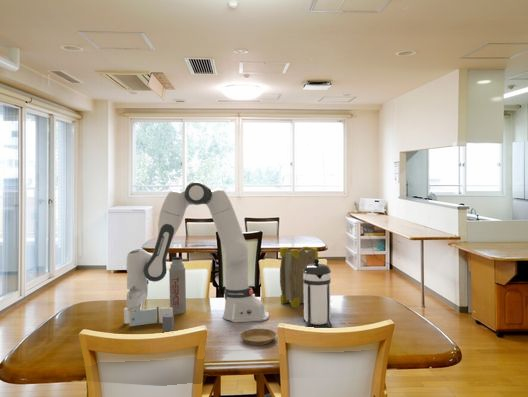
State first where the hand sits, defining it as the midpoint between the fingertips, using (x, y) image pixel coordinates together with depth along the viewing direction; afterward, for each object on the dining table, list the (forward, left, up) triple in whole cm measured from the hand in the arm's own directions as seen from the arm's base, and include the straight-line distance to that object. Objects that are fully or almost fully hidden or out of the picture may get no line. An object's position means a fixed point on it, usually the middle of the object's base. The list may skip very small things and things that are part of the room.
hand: (137, 313), depth 199 cm
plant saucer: (-57, +24, -5) cm, 62 cm away
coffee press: (-83, +3, -5) cm, 83 cm away
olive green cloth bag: (-78, -32, -5) cm, 85 cm away
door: (-4, +3, -4) cm, 6 cm away
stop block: (-17, +12, -5) cm, 21 cm away
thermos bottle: (-15, -17, -5) cm, 23 cm away
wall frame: (-5, 0, -5) cm, 7 cm away
